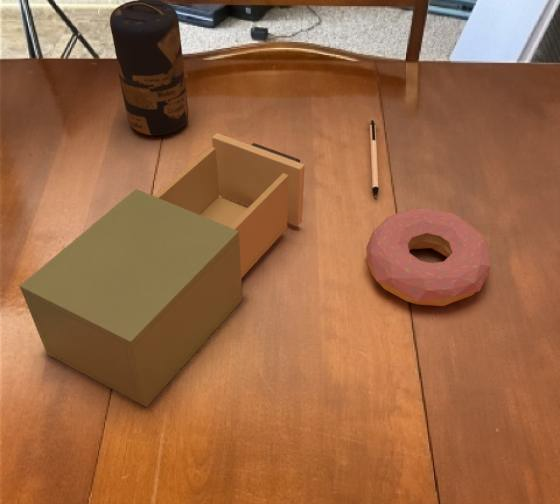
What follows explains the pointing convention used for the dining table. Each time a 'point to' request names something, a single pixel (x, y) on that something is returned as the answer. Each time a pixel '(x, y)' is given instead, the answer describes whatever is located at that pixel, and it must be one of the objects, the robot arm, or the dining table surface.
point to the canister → (150, 65)
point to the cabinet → (137, 294)
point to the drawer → (242, 192)
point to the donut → (422, 275)
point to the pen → (374, 158)
